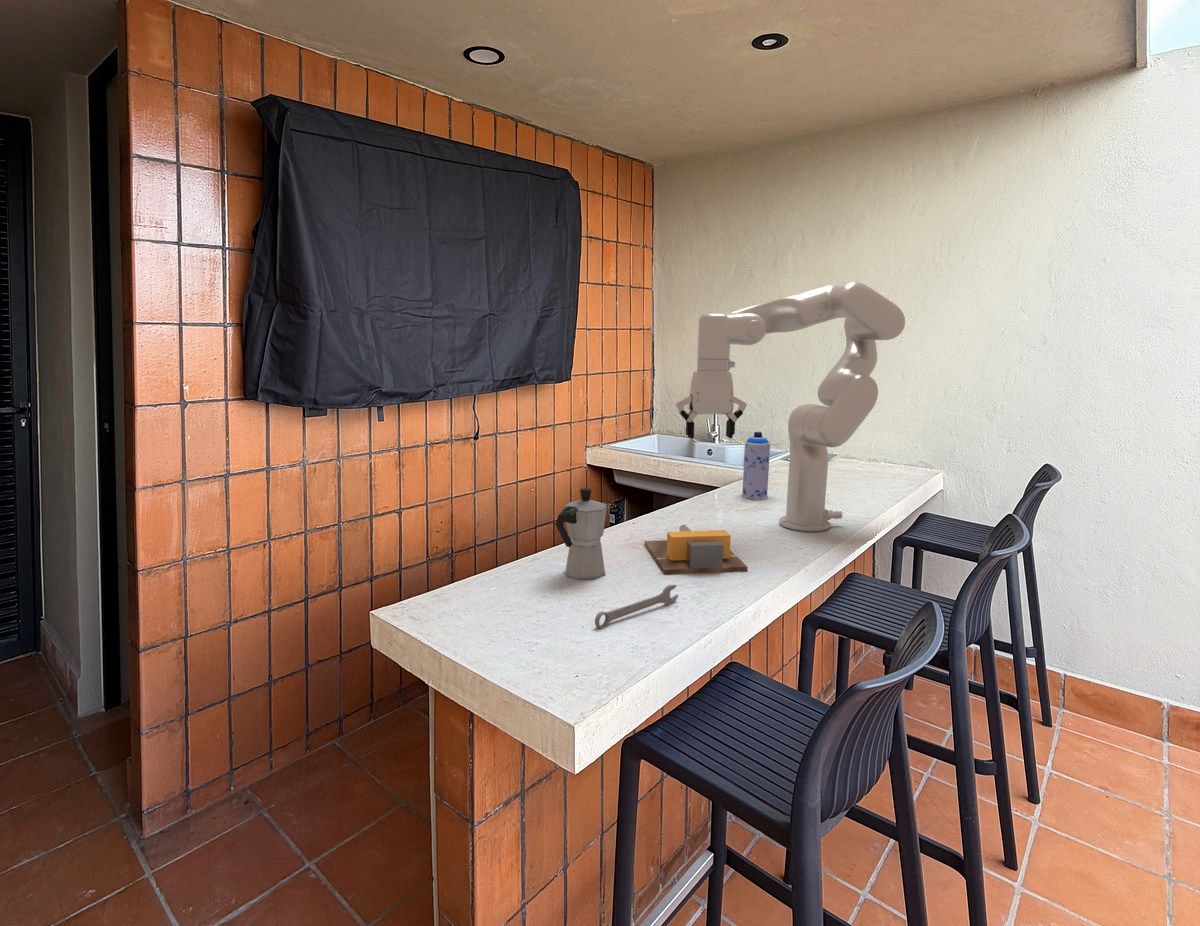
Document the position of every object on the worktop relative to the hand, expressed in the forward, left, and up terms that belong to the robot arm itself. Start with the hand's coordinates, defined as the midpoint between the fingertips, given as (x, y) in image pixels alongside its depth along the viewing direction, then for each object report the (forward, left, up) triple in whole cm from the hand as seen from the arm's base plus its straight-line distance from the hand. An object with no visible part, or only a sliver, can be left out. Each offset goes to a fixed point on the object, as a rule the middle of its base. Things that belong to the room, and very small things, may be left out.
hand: (710, 437), depth 169 cm
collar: (+8, +21, -23) cm, 32 cm away
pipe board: (+8, +17, -24) cm, 31 cm away
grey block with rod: (+8, +18, -23) cm, 30 cm away
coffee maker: (+34, +25, -24) cm, 49 cm away
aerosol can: (-26, -36, -24) cm, 51 cm away
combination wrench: (+26, +46, -25) cm, 59 cm away
